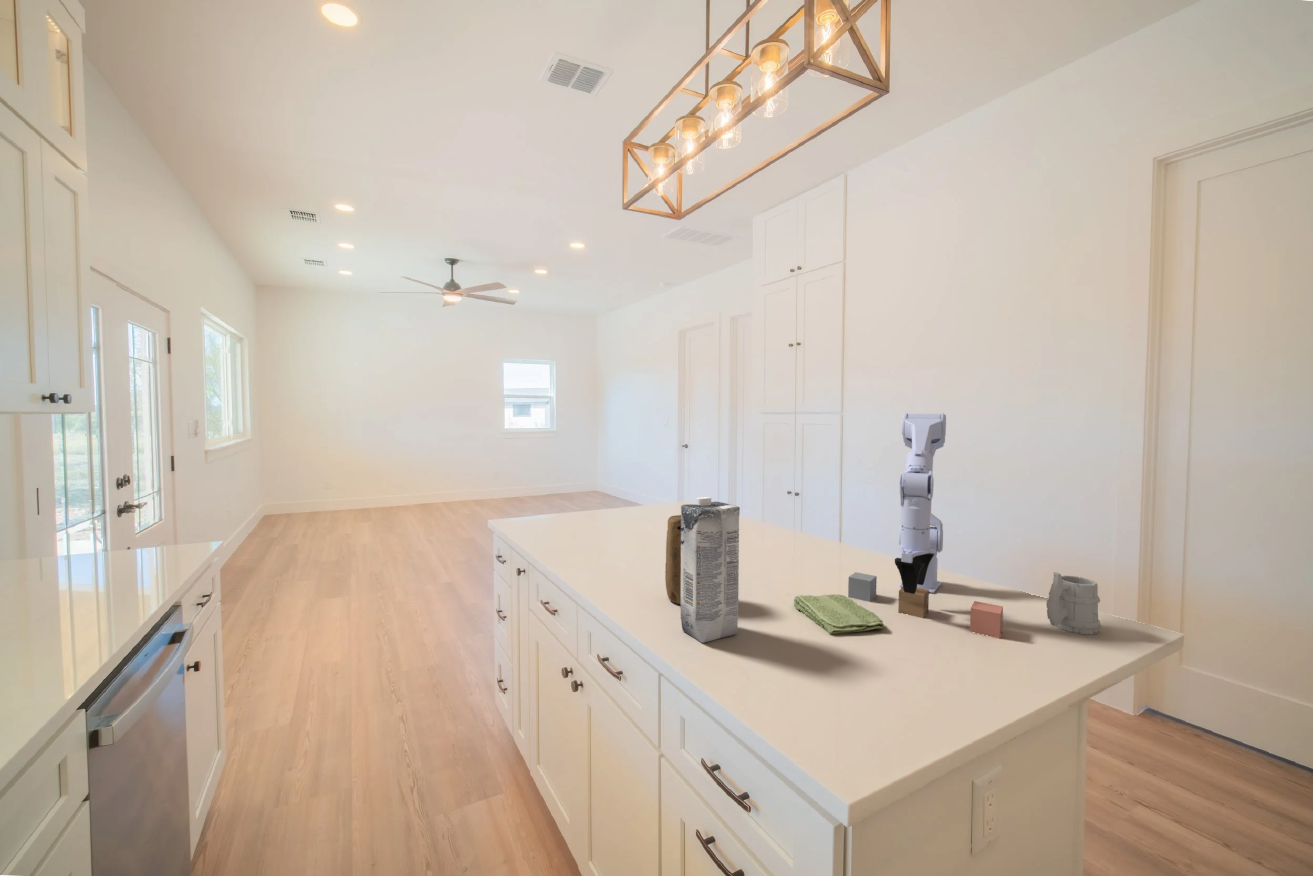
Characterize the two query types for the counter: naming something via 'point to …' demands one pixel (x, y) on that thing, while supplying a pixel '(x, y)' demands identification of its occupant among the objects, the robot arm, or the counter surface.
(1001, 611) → the brick red block
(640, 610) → the counter surface
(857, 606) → the washcloth
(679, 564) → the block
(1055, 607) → the mug
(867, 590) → the slate grey block
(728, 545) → the juice carton
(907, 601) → the walnut block
